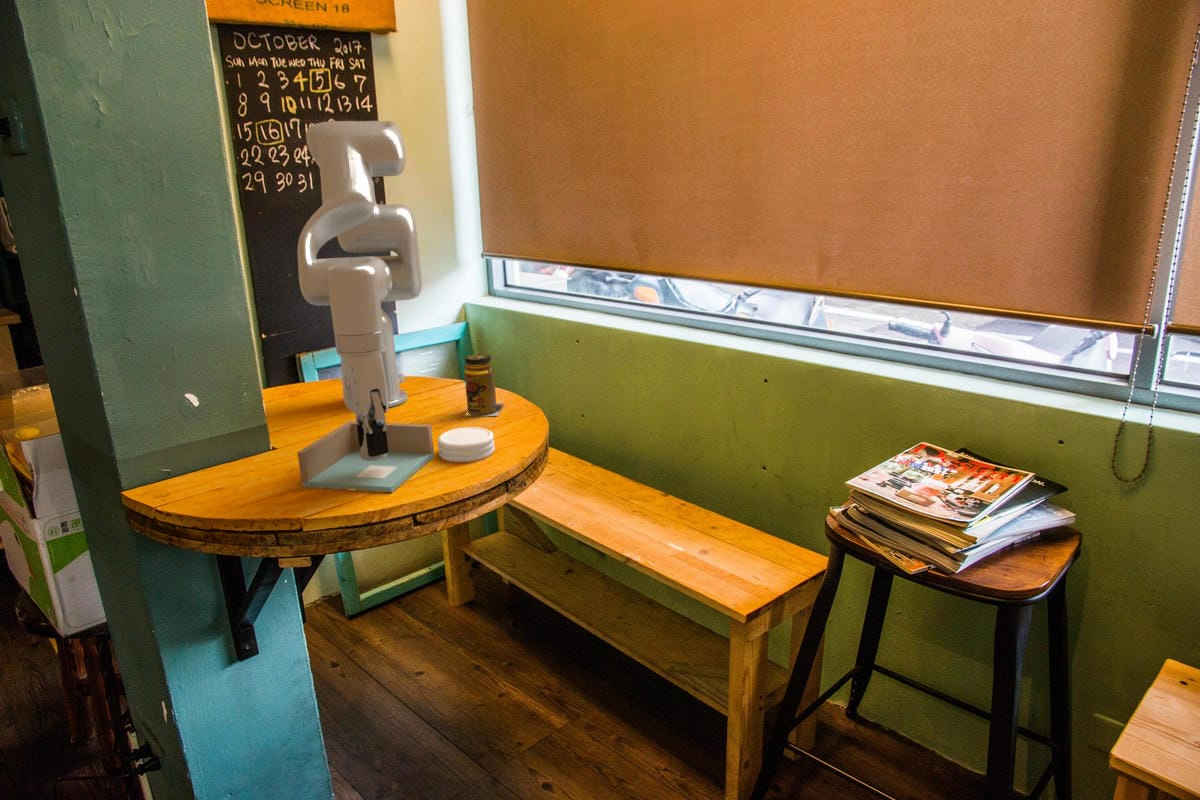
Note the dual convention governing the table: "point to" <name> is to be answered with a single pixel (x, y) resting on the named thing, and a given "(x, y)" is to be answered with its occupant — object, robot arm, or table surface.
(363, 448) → the rook chess piece
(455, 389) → the table surface
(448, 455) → the white round container
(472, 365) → the condiment
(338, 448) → the corner arena
